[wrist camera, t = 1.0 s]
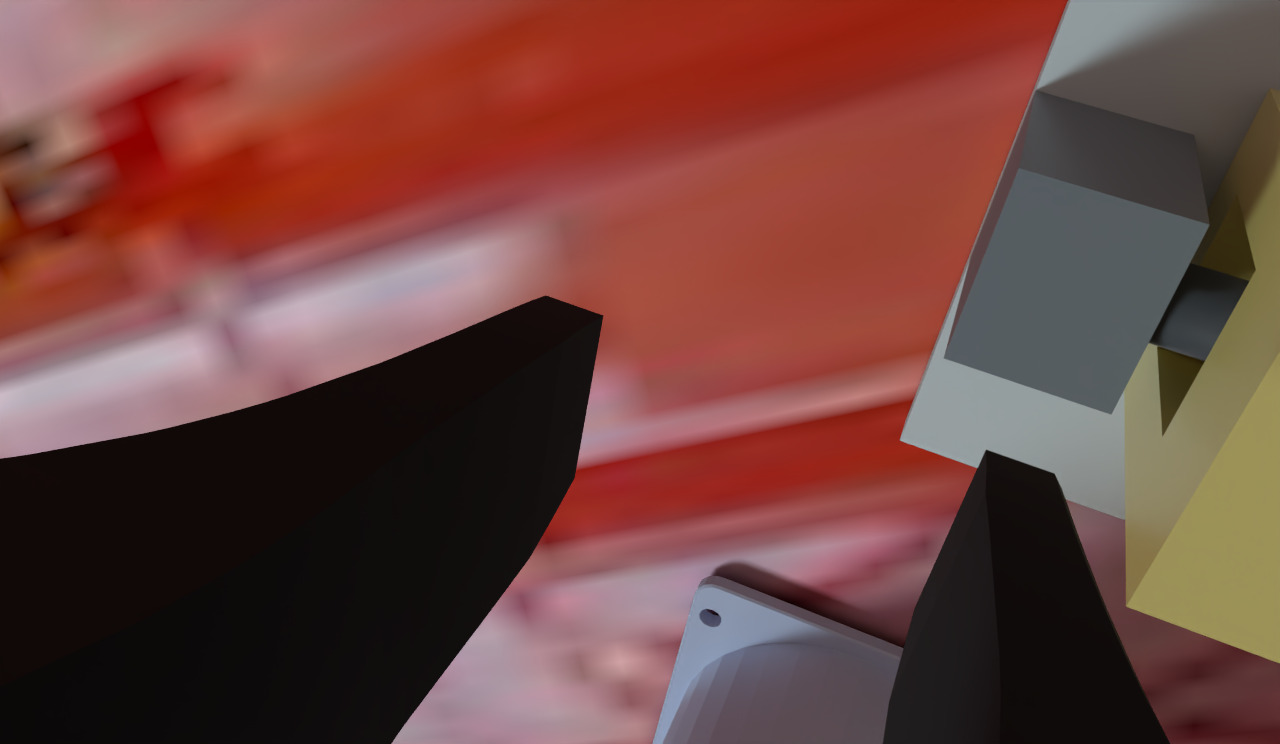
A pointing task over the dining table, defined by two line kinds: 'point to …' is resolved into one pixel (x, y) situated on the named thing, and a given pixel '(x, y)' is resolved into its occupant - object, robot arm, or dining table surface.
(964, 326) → the grey board with rod
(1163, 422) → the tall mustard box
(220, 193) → the dining table surface
